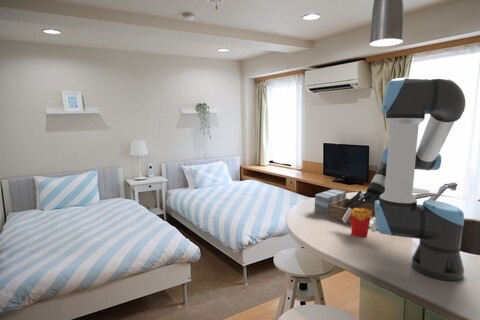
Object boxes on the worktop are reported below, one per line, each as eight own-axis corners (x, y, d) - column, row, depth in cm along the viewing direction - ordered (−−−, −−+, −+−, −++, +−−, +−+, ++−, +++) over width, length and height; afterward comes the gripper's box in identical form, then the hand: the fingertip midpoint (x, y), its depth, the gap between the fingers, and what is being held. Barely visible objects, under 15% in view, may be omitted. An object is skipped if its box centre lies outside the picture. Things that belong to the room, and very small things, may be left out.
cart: (376, 230, 139) (378, 209, 137) (314, 212, 163) (315, 194, 162) (392, 221, 150) (394, 202, 149) (332, 205, 175) (333, 189, 173)
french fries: (349, 235, 134) (351, 209, 132) (349, 232, 137) (351, 206, 135) (370, 238, 131) (372, 211, 129) (369, 234, 135) (371, 208, 133)
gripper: (409, 197, 130) (388, 239, 124) (356, 186, 150) (336, 221, 144) (404, 187, 126) (382, 230, 120) (351, 177, 146) (330, 213, 140)
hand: (357, 225), depth 132 cm, fingers open, 13 cm apart
